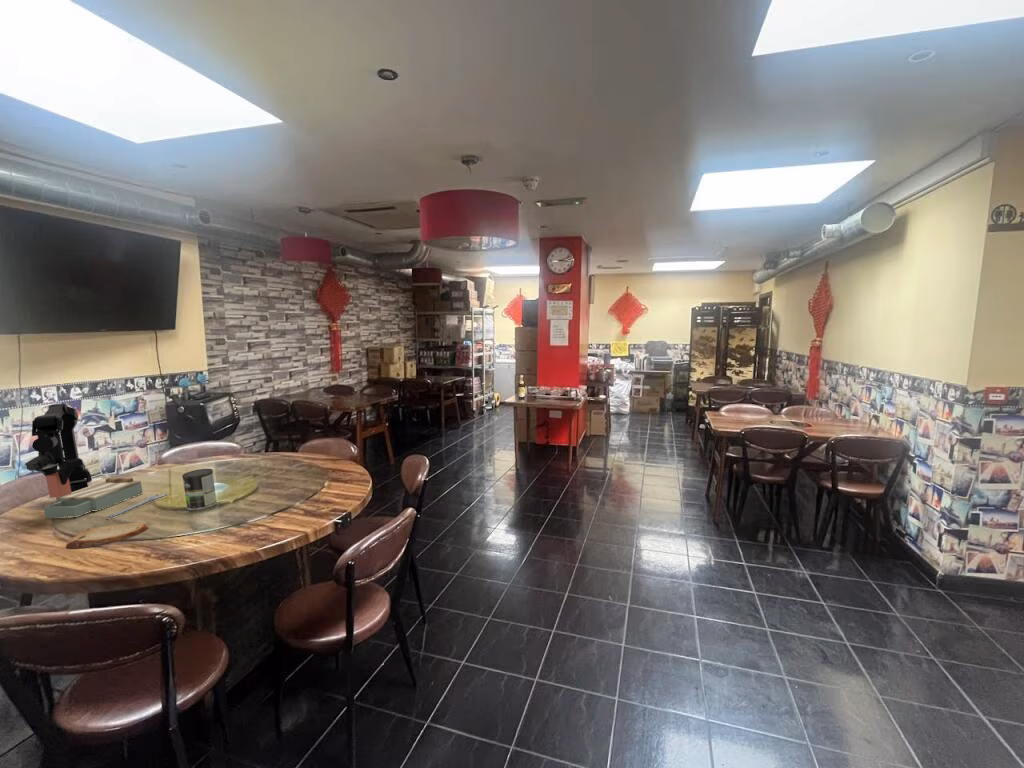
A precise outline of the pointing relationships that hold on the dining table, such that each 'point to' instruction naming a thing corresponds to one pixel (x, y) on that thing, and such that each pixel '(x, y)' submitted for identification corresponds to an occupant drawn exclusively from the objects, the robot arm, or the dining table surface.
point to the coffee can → (199, 489)
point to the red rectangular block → (57, 486)
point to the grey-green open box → (89, 503)
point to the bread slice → (105, 535)
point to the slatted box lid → (100, 489)
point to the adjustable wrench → (148, 499)
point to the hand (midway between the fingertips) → (58, 484)
